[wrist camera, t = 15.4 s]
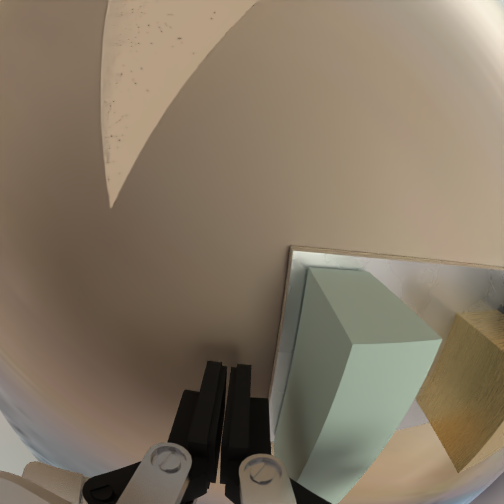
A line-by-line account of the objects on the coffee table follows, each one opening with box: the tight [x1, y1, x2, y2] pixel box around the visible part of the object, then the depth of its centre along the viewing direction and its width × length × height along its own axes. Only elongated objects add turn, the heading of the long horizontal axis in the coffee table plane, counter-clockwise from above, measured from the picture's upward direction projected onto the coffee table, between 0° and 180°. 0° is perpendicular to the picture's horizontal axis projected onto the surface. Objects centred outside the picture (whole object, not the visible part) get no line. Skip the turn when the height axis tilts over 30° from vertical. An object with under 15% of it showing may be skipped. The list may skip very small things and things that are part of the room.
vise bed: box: [268, 246, 504, 442], centre depth 9 cm, size 16×11×6 cm
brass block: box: [417, 310, 504, 473], centre depth 8 cm, size 4×6×6 cm, turn 176°
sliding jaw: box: [274, 267, 442, 504], centre depth 8 cm, size 3×10×5 cm, turn 175°
